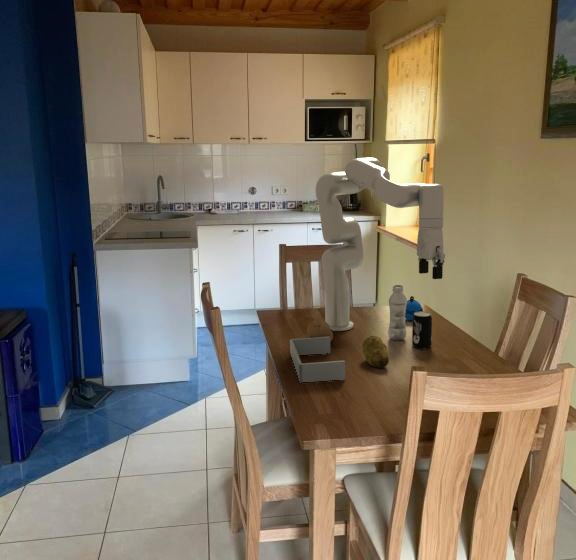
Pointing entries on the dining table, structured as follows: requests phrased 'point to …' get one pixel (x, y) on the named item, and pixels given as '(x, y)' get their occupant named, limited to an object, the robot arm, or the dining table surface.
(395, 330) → the plastic bottle
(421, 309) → the ornament
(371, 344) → the potato
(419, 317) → the beverage can
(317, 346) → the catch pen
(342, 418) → the dining table surface
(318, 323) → the natural sponge
